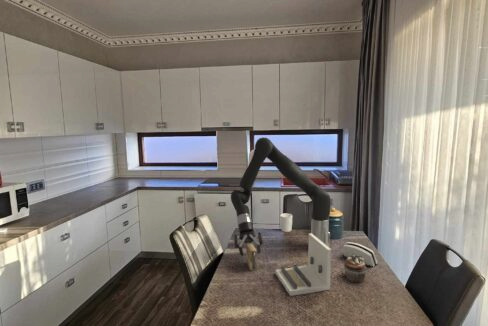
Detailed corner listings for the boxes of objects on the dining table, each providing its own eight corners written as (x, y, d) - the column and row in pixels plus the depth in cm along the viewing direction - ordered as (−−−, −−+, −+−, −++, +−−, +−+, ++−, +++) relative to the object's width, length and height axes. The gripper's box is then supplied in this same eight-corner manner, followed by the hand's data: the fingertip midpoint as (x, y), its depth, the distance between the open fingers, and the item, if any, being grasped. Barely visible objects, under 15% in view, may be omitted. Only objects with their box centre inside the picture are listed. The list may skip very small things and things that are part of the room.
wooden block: (252, 262, 150) (252, 243, 148) (257, 270, 141) (257, 251, 139) (246, 262, 149) (246, 244, 147) (251, 271, 140) (250, 251, 139)
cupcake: (340, 278, 133) (341, 257, 131) (347, 269, 141) (348, 249, 139) (362, 285, 127) (363, 263, 126) (368, 275, 135) (369, 255, 133)
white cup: (293, 228, 194) (293, 213, 192) (291, 232, 187) (291, 217, 185) (281, 227, 197) (281, 212, 195) (279, 231, 189) (279, 216, 188)
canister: (345, 233, 184) (346, 206, 182) (341, 241, 173) (342, 212, 170) (324, 230, 190) (324, 203, 188) (319, 237, 179) (319, 209, 176)
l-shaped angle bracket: (310, 268, 142) (311, 233, 139) (330, 289, 125) (331, 249, 122) (275, 273, 138) (275, 237, 135) (290, 296, 120) (290, 254, 118)
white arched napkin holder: (379, 263, 145) (376, 248, 142) (374, 270, 143) (371, 253, 139) (348, 252, 158) (345, 237, 155) (343, 257, 156) (340, 242, 152)
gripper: (232, 222, 150) (237, 253, 141) (259, 219, 153) (266, 249, 144) (231, 228, 156) (235, 258, 147) (256, 225, 159) (263, 255, 150)
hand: (250, 254), depth 145 cm, fingers open, 8 cm apart
